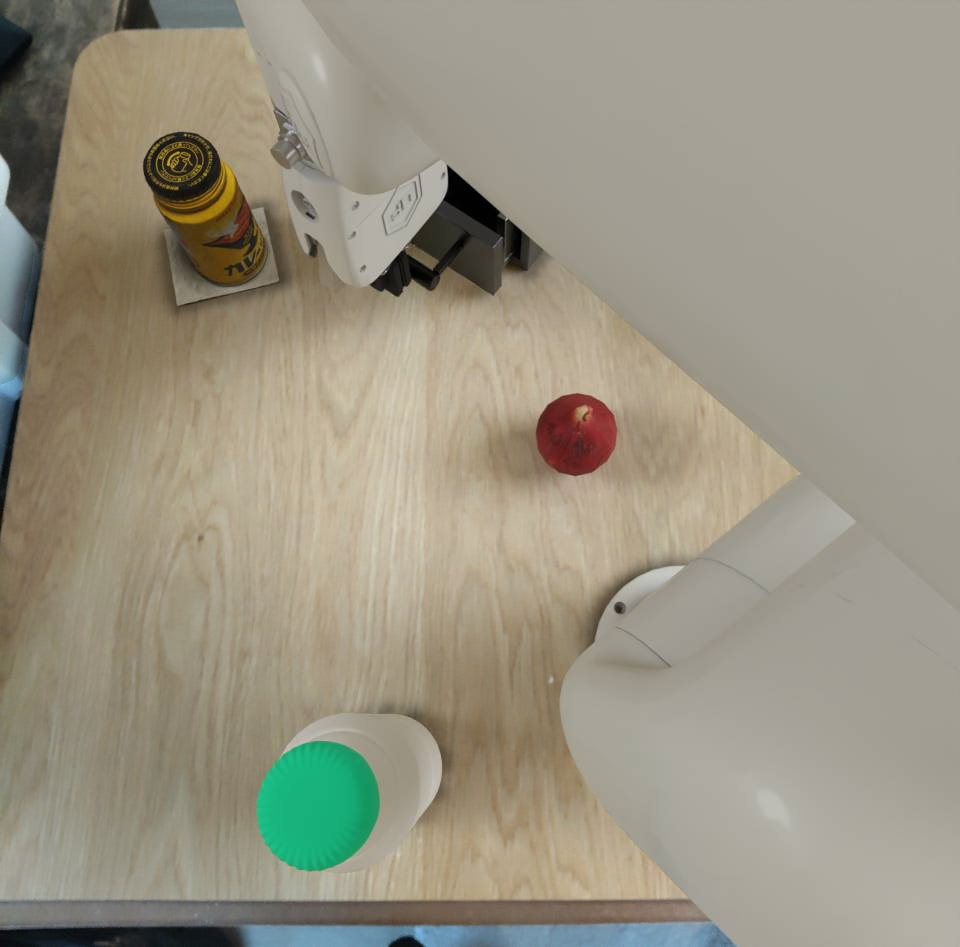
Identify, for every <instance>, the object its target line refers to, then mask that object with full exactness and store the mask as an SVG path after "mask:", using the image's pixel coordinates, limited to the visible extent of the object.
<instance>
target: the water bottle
mask: <svg viewBox="0 0 960 947" xmlns="http://www.w3.org/2000/svg"><path fill="white" fill-rule="evenodd" d="M442 776H443V761H442V755H441V750H440V748H439V745H438V743H437V741H436V740H435V737H434V736H433V734H432V733H431V732H430V731H429V730H428V728H427V727H425V726H424V725H423V724H422V723H421V722H419V721H418V720H416V719H414V718H412V717H410V716H407V715H404V714H398V713H370V712H368V713H360V712H339V713H334V714H330V715H327V716H323V717H322V718H319V719H316V720H315V721H313V722H311V723H310V724H308V725H307V726H305V727H304V728H303V729H301V730H300V731H299V732H298V733H297V734H296V735H295V736H294V737H293V738H292V739H291V740H290V741H289V742H288V744H287V745H286V746H285V748H284V750H283V751H282V752H281V755H280V757H279V759H277V760H276V761H275V762H274V763H273V765H272V767H271V768H270V769H269V770H268V771H267V773H266V776H265V777H264V779H262V782H261V786H260V788H259V790H258V797H257V799H256V801H255V806H256V811H255V816H256V817H257V826H258V829H259V831H260V832H259V833H260V834H259V835H260V837H262V839H263V841H264V844H265V846H266V847H267V848H268V849H269V850H270V853H271V854H272V855H274V856H276V857H277V858H278V860H279V861H281V862H283V863H285V864H286V865H287V866H288V867H293V868H295V869H296V870H298V871H306V872H308V873H310V872H322V871H323V872H327V873H335V874H349V873H355V872H361V871H363V870H367V869H369V868H371V867H373V866H376V865H377V864H379V863H381V862H382V861H384V860H385V859H387V858H388V857H390V855H392V854H393V853H394V852H395V851H396V850H397V849H398V848H399V847H400V846H401V845H402V843H403V842H404V841H405V839H406V838H407V837H408V835H409V833H410V831H411V830H412V829H413V828H414V826H415V825H416V823H418V821H419V820H420V818H421V817H422V815H423V814H424V813H425V812H426V810H427V809H428V808H429V806H430V805H431V804H432V802H434V799H435V798H436V796H437V793H438V791H439V789H440V786H441V785H440V784H441V782H442Z"/></svg>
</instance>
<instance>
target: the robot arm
mask: <svg viewBox="0 0 960 947" xmlns="http://www.w3.org/2000/svg"><path fill="white" fill-rule="evenodd" d="M234 1H235V4H236V6H237V9H238V12H239V15H240V18H241V20H242V23H243V27H244V29H245V31H246V34H247V37H248V40H249V42H250V46H251V48H252V51H253V54H254V56H255V59H256V62H257V65H258V68H259V70H260V73H261V76H262V78H263V81H264V84H265V88H266V90H267V93H268V95H269V99H270V101H271V104H272V107H273V110H272V112H273V114H274V117H275V120H276V122H277V125H278V128H279V131H278V137H277V141H276V142H275V144H274V145H273V146H272V147H271V148H270V150H269V151H270V154H271V156H272V158H274V161H275V162H277V163H278V164H279V165H280V169H281V176H282V184H283V189H284V193H285V198H286V204H287V207H288V212H289V214H290V218H291V222H292V225H293V228H294V231H295V234H296V236H297V239H298V241H299V244H300V246H301V248H302V250H303V252H304V254H305V255H306V257H307V258H308V259H310V260H313V259H317V267H318V281H319V282H318V283H319V284H321V285H322V286H324V287H325V288H327V289H328V290H330V291H332V292H333V293H334V294H336V293H338V292H339V291H340V290H341V289H343V288H344V287H345V286H346V285H347V286H349V287H351V288H353V289H355V290H359V289H363V288H366V287H368V286H370V287H372V288H373V289H374V290H376V291H378V292H379V293H383V292H384V291H387V292H389V293H390V295H393V296H395V297H396V298H399V297H400V296H401V295H402V294H403V293H404V288H408V287H409V286H410V285H411V283H412V282H413V280H412V279H411V274H410V268H409V263H408V258H407V254H408V253H407V251H406V250H407V249H408V248H409V246H410V245H411V244H412V243H411V240H412V238H413V237H414V235H415V234H416V233H417V232H418V231H419V229H420V228H421V227H422V226H423V225H424V223H425V222H426V221H427V220H428V219H429V217H430V216H431V215H432V214H433V212H434V211H435V210H436V209H437V207H438V206H439V205H440V203H441V202H442V200H443V198H444V196H445V194H446V192H447V187H448V173H447V165H448V166H449V167H451V168H452V169H453V170H454V171H455V172H456V173H457V174H458V175H460V176H461V177H462V178H463V179H464V180H465V181H466V182H467V183H469V184H470V185H471V186H472V187H473V188H474V189H475V190H476V191H478V192H479V193H480V194H481V195H482V196H483V197H484V198H486V199H487V200H488V201H489V202H490V203H491V204H492V205H493V206H495V207H496V208H497V209H498V210H499V211H500V212H501V213H502V214H504V215H505V216H506V217H507V218H508V219H509V220H510V221H512V222H513V223H514V224H515V225H516V226H517V227H518V228H519V229H521V230H522V231H523V232H524V233H525V234H526V235H527V236H529V237H530V238H531V239H532V240H533V241H534V242H535V243H536V244H538V245H539V246H540V247H541V248H542V249H543V250H544V251H543V252H545V253H546V254H548V255H549V256H550V257H551V258H552V259H554V261H556V263H558V264H559V265H560V266H562V268H563V269H565V270H566V271H567V272H568V273H569V274H570V275H571V276H573V277H574V278H575V279H576V280H577V281H578V282H580V284H582V285H583V286H584V287H585V288H586V289H588V290H589V291H590V292H591V293H593V295H595V296H596V298H598V299H599V300H600V301H601V302H603V303H604V304H605V305H606V306H607V307H609V308H610V309H611V310H612V311H613V312H614V313H616V314H617V315H618V316H619V317H620V318H621V319H622V320H624V321H625V322H626V323H627V324H628V325H629V326H631V327H632V329H634V330H635V331H636V332H637V333H638V334H640V335H641V336H642V337H643V338H644V339H645V340H647V341H648V342H649V343H650V344H651V345H653V347H654V348H656V349H657V350H658V351H659V352H661V354H663V355H664V356H665V357H666V358H667V359H668V360H670V361H671V362H672V363H673V364H674V365H675V366H676V367H678V368H679V369H680V370H681V371H682V372H684V374H686V376H688V377H689V378H690V379H691V380H693V381H694V382H695V383H696V384H697V385H698V386H700V387H701V388H702V389H703V390H704V391H705V392H706V393H708V395H710V396H711V397H712V398H713V399H714V400H716V401H717V402H718V403H719V404H720V405H722V407H724V409H726V410H727V411H729V413H730V414H732V415H733V416H734V417H735V418H737V420H739V421H740V422H741V423H742V424H744V425H745V427H747V429H749V430H750V431H751V432H752V433H754V434H755V435H756V436H757V437H758V438H760V440H761V441H763V442H764V443H765V444H767V446H769V447H770V448H771V449H772V450H773V451H774V452H776V454H777V455H779V456H780V457H782V459H784V460H785V461H786V462H787V463H788V464H790V466H792V467H793V468H794V469H795V470H796V471H797V472H799V473H800V474H798V475H797V476H795V477H793V478H792V479H789V480H788V481H787V482H786V483H784V484H783V485H781V486H780V487H779V488H778V489H776V490H775V491H774V492H772V493H771V495H769V496H768V497H767V498H766V499H764V500H763V501H762V502H761V503H760V504H758V505H757V506H755V508H754V509H752V510H751V511H750V512H749V513H748V514H747V515H745V516H744V517H743V518H741V519H740V520H739V521H738V522H737V523H736V524H735V525H733V526H732V527H731V528H730V529H728V530H727V531H726V532H724V533H723V534H722V535H721V536H720V537H718V538H717V539H716V540H715V541H714V542H712V543H711V544H710V545H708V546H707V547H706V548H705V549H704V550H703V551H701V552H699V554H697V555H696V556H695V557H694V558H693V559H691V560H690V562H689V563H688V564H686V565H668V566H662V567H658V568H654V569H651V570H649V571H647V572H644V573H642V574H640V575H637V576H636V577H635V578H633V579H632V580H631V581H628V583H626V584H625V585H624V586H622V588H620V589H619V590H618V591H617V592H616V593H615V595H614V596H613V597H612V598H611V600H610V601H609V602H608V604H607V605H606V607H605V609H604V611H603V613H602V615H601V617H600V619H599V621H598V624H597V627H596V632H595V636H594V642H593V643H592V644H591V645H590V646H588V648H586V649H585V650H584V651H583V652H582V653H581V654H580V655H579V656H578V657H577V658H576V659H575V660H574V662H573V664H571V665H570V667H569V668H568V670H567V672H566V674H565V677H564V678H563V681H562V684H561V690H560V694H559V715H560V721H561V726H562V730H563V734H564V736H565V737H564V738H565V741H566V745H567V747H568V750H569V752H570V755H571V757H572V760H573V762H574V763H575V765H576V767H577V770H578V771H579V773H580V775H581V777H582V779H583V780H584V782H585V784H586V785H587V787H588V789H589V790H590V792H591V793H592V795H593V796H594V798H595V800H597V802H598V803H599V805H600V806H601V807H602V808H603V810H604V811H605V812H606V814H607V815H608V816H609V817H610V818H611V819H612V821H614V823H615V824H616V826H618V827H619V828H620V829H621V831H622V832H623V833H624V834H625V835H626V836H627V837H628V838H629V839H630V840H631V842H632V843H634V845H635V846H636V847H637V848H638V849H639V850H640V851H641V852H642V853H643V854H644V855H645V856H646V857H647V858H648V859H649V860H651V862H653V864H655V866H656V867H657V868H658V869H659V870H660V871H661V872H662V873H663V874H664V875H666V877H668V879H669V880H670V881H671V882H672V883H673V884H674V885H675V886H676V887H677V888H678V889H679V890H680V891H681V892H682V893H683V894H684V895H685V896H686V897H687V898H688V899H689V900H690V901H691V902H692V903H693V904H694V905H695V906H696V907H697V908H698V909H699V910H700V911H701V912H702V913H703V914H704V915H705V916H706V917H707V918H708V919H709V920H710V921H711V922H712V923H713V925H715V926H716V927H717V928H718V929H719V930H720V931H721V933H723V934H724V935H725V936H726V937H727V939H729V940H730V941H731V942H732V944H734V945H735V946H736V947H960V0H234ZM406 253H407V254H406ZM617 607H619V608H620V610H621V611H620V612H617V610H616V608H617Z"/></svg>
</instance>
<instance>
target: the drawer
mask: <svg viewBox="0 0 960 947" xmlns="http://www.w3.org/2000/svg"><path fill="white" fill-rule="evenodd" d="M447 173H448V187H447V192H446V194H445V196H444V198H443V200H442V202H441V203H440V205H439V206H438V207H437V209H436V210H435V211H434V212H433V214H432V215H431V216H430V217H429V219H428V220H427V221H426V222H425V223H424V225H423V226H422V227H421V228H420V229H419V231H418V232H417V233H416V234H415V235H414V237H413V238H412V240H411V243H410V244H412V245H414V246H415V247H417V248H418V249H420V250H421V251H423V252H424V253H426V254H427V255H429V256H431V257H432V258H433V259H435V260H437V261H438V262H437V263H436V265H435V266H434V267H433V268H432V269H431V268H430V267H428V266H427V265H425V264H424V263H422V262H420V260H418V259H416V258H414V257H413V256H412V255H410V254H408V253H407V252H406V254H407V258H408V263H409V268H410V274H411V279H412V282H414V283H416V284H418V285H419V286H421V287H423V288H424V289H426V290H427V291H429V292H433V291H435V290H436V288H437V287H438V286H439V284H440V282H441V278H442V277H441V276H442V275H443V273H444V272H445V271H446V270H447V268H449V269H450V270H452V271H454V272H455V273H457V274H458V275H460V276H461V277H463V278H465V279H466V280H468V281H469V282H471V283H472V284H474V285H475V286H477V287H479V288H480V289H481V290H483V291H485V293H488V294H489V295H491V296H495V294H496V293H497V292H498V291H499V289H500V288H502V285H503V268H505V267H506V266H507V265H508V264H509V262H510V261H511V258H512V257H513V256H514V255H515V254H516V252H517V251H518V250H519V249H520V248H521V236H522V230H521V229H519V228H518V227H517V226H516V225H515V224H514V223H513V222H512V221H510V220H509V219H508V218H507V217H506V216H505V215H504V214H502V213H501V212H500V211H499V210H498V209H497V208H496V207H495V206H493V205H492V204H491V203H490V202H489V201H488V200H487V199H486V198H484V197H483V196H482V195H481V194H480V193H479V192H478V191H476V190H475V189H474V188H473V187H472V186H471V185H470V184H469V183H467V182H466V181H465V180H464V179H463V178H462V177H461V176H460V175H458V174H457V173H456V172H455V171H454V170H453V169H452V168H451V167H449V166H448V165H447Z"/></svg>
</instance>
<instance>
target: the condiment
mask: <svg viewBox="0 0 960 947" xmlns="http://www.w3.org/2000/svg"><path fill="white" fill-rule="evenodd" d="M144 156H145V157H144V158H143V161H142V172H143V176H144V179H145V182H146V183H147V186H148V187H149V188H150V191H151V192H152V198H153V201H154V204H155V206H156V208H157V210H158V211H159V213H160V215H161V216H162V217H163V219H164V221H165V222H166V224H167V226H168V228H165V229H163V235H164V240H165V244H166V250H167V254H168V260H169V266H170V271H171V275H172V276H171V277H172V284H173V289H174V296H175V301H176V302H175V303H176V306H177V307H178V306H183V305H186V304H189V303H196V302H198V301H202V300H206V299H212V298H215V297H220V296H225V295H230V294H235V293H239V292H242V291H247V290H250V289H256V288H260V287H263V286H268V285H271V284H275V283H278V282H280V277H279V272H278V268H277V267H278V266H277V263H276V258H275V254H274V249H273V244H272V241H271V235H270V232H269V227H268V223H267V219H266V218H267V217H266V213H265V208H264V206H261V207H258V208H254V209H251V207H250V205H249V203H248V200H247V199H246V198H247V197H246V196H245V194H244V192H243V191H242V188H241V187H240V185H239V181H238V179H237V177H236V175H235V174H234V172H233V170H232V168H231V167H230V166H229V165H228V163H226V162H225V161H224V160H222V158H221V157H220V155H219V152H218V150H217V148H216V147H215V146H214V145H213V143H212V142H211V141H210V140H208V139H207V138H206V137H204V136H202V135H200V134H199V133H196V132H191V131H190V132H189V131H176V132H171V133H167V134H165V135H163V136H161V137H159V138H158V139H157V140H155V141H154V142H153V143H152V144H151V146H150V147H149V149H148V150H147V153H146V154H145V155H144Z"/></svg>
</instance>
